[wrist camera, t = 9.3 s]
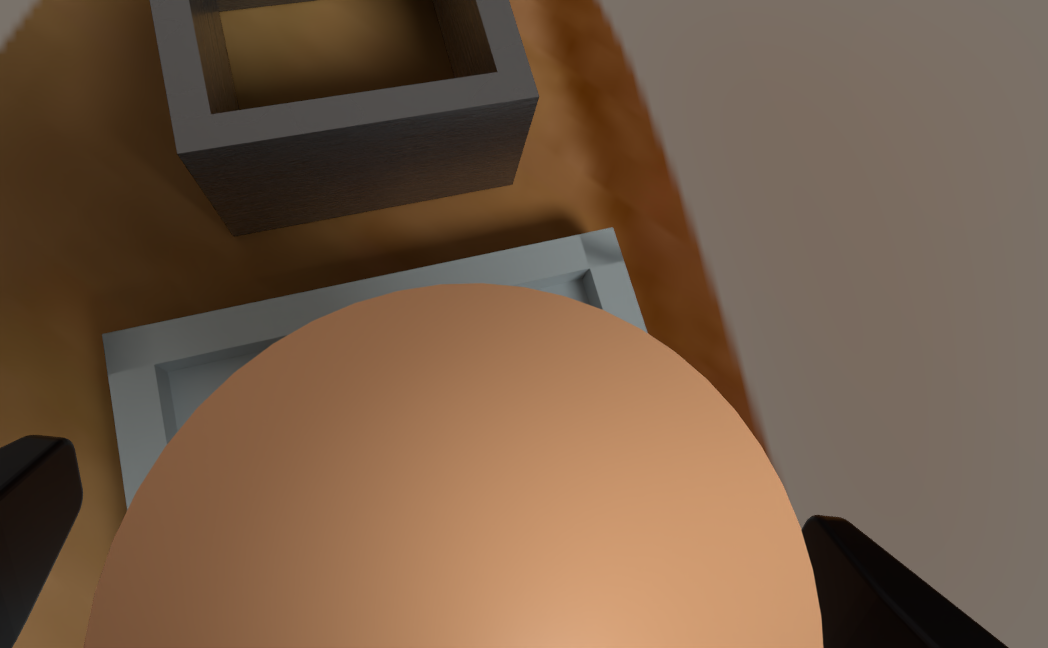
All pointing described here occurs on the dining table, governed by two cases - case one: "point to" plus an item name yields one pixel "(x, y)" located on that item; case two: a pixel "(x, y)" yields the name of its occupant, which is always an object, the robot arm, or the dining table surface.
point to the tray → (247, 330)
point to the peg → (461, 494)
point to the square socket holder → (346, 122)
